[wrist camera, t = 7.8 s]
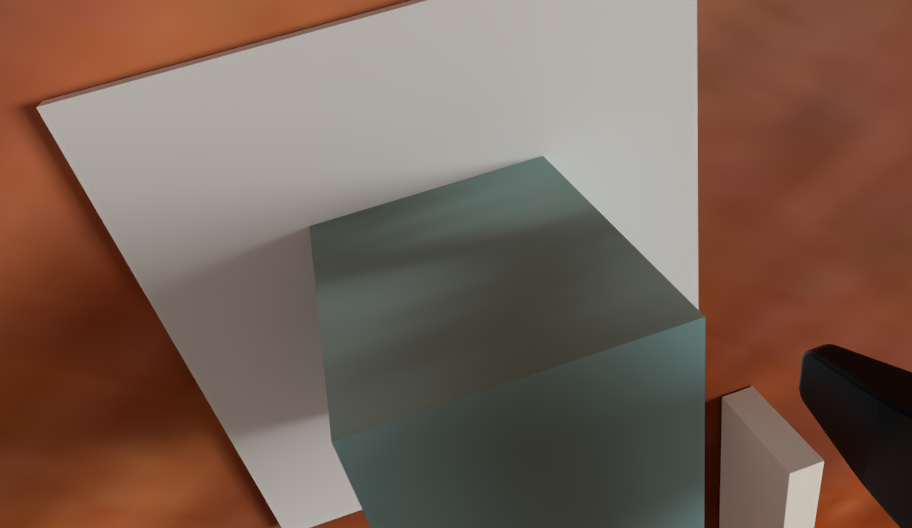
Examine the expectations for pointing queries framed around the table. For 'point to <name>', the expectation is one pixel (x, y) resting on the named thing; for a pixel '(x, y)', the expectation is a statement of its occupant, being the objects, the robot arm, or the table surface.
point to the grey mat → (368, 178)
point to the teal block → (508, 362)
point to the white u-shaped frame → (765, 467)
